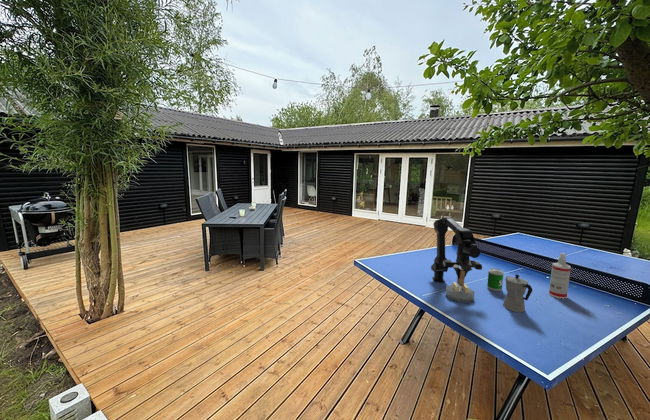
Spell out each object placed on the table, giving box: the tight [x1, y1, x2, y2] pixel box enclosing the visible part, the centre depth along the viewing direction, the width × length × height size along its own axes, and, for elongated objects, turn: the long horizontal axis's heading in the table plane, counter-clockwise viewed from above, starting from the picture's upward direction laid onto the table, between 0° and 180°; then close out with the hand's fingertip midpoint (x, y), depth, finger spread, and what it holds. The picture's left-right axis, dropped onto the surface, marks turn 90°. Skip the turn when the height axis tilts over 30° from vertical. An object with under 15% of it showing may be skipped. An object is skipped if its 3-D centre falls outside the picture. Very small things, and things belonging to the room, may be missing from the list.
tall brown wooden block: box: [456, 267, 466, 286], centre depth 143 cm, size 5×2×9 cm, turn 169°
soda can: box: [486, 267, 505, 292], centre depth 154 cm, size 8×8×12 cm
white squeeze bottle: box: [548, 252, 572, 300], centre depth 145 cm, size 8×8×25 cm
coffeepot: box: [502, 274, 533, 313], centre depth 131 cm, size 15×9×18 cm, turn 6°
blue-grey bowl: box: [445, 281, 475, 303], centre depth 145 cm, size 14×14×7 cm
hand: (460, 279), depth 144 cm, fingers closed on tall brown wooden block, 2 cm apart
